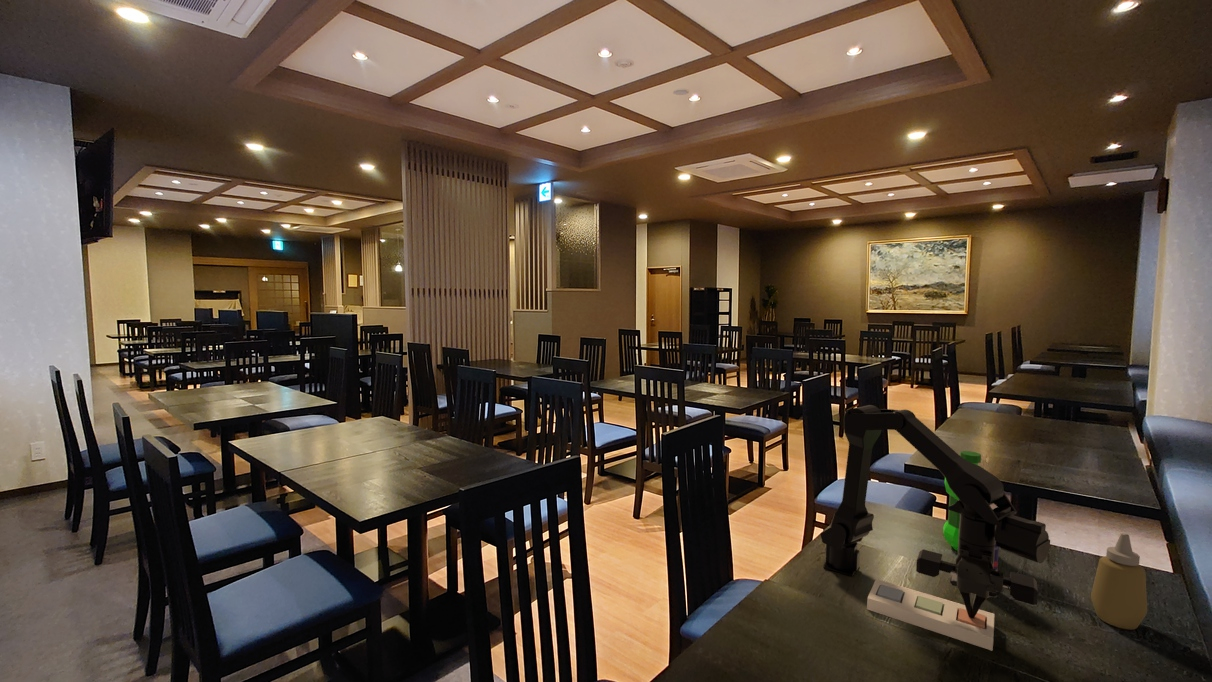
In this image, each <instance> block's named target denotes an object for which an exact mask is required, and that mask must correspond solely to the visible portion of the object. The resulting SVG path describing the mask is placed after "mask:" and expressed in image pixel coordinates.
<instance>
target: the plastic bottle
mask: <svg viewBox="0 0 1212 682" xmlns="http://www.w3.org/2000/svg"><path fill="white" fill-rule="evenodd" d="M981 454H982V453H978V452H975V451H970V450H962V451H960V456H961V457H962V458H964V459H965V460H967V461H969V462H971V463H973V464H976V465H978V466H979V464H980V463H981V461H982V455H981ZM944 488H945V492H946V493H947V494H948V495H949V499H948V501H949V502H948V506H951V505H953V504H955V503H956V502H957V501H958V500H959V499H958V497H957V496H956V495H955V494H954V492H953V491H952V490H951V489H950V487H949V485H948V483H947V481H946V478H945V477H944ZM947 515H948V518H947V520H946V521H945V523H944V525H943V528H942V532H943V537H944V540H945V541H946V543H948V545H949V546H951V547H952V549H954V550H955V551H957V552H958V539H959V524H960V514H959V513H956V512H953V511H950V510H948V514H947Z"/></svg>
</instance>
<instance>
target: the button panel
mask: <svg viewBox="0 0 1212 682" xmlns="http://www.w3.org/2000/svg"><path fill="white" fill-rule="evenodd" d="M881 584H882V585H885V586H888V587H892V588H895V589H898V590H902V591H903V600H902V603H899V602H896V601H893V600H890V599H886V598H883V597H880V596H877V593H878V591H879V588H880V586H881ZM919 596H922V597H925V598H928V599H932V600H935V601H938V602H942V603H943V607H942V616H941V615H938V614H934V613H931V612H928V611H925V610H922V609H918V608H916V604H917V600H918V597H919ZM959 608H962V609H965V610H966V607H965V604H964V603H963V604H962V603H958V602H955V601H951V600H949V599H945V598H942V597H938V596H935V595H932V594H930V593H925V592H922V591H918V590H915V589H912V588H908V587H905V586H902V585H898V584H895V583H892V582H888V581H884V580H881V579H878V578H876V579H875V580H874V582H873V585H872V587H871V589H870V591H869V593H868V596H867V602H866V610H868V611H871V612H874V613H877V614H880V615H883V616H886V617H889V618H892V619H895V620H898V621H901V622H904V623H906V624H910V625H913V626H916V627H920V628H922V629H925V630H929V631H931V632H934V633H937V634H940V635H943V636H947V637H949V638H952V639H955V640H957V641H958V640H959V641H961V642H963V643H964V642H965V643H968V644H970V645H974V646H977V647H979V648H983V649H986V650H989V651H991V652H992V651H993V650H994V648H993V647H994V633H995V632H994V631H995V613H993V612H988V611H986V610H983V609H981V608H979V610H978V612H977V613H978V614H982V615H985V629H982V628H979V627H976V626H973V625H969V624H966V623H963V622H960V621H958V614H959Z"/></svg>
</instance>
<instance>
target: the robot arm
mask: <svg viewBox="0 0 1212 682" xmlns="http://www.w3.org/2000/svg"><path fill="white" fill-rule="evenodd" d="M885 430H886V431H887V430H890V431H891V430H892V431H896V432H897V433H898V434H899V435H900V436H901V437H902V438H903V439H905V441H907V442H908V443H909V444H910V445H911V446H912V447H913V448H914V449H915V450H917V452H919V453H920V454H921V455H922V456H923V457H924V458H925V459H926V460H927V461H929V463H931V464H932V466H934V467H935V468H936V469H937V470H938V471H939V472H940V473H941V474H942V476H943V477H944V479H945V478H946V481H947V483H948V485H949V487H950V489H951V490H952V491H953V492H954V494H955V495H956V496H957V497H958V499H959V500H958V501H957V502H956V503H955V504H953V505H951V506H949V505H948V506H947V511H949V510H950V511H953V512H956V513H959V514H960V524H959V539H958V551H957V554H956V555H957V557H956V559H955V563H953V562H949V561H945V560H943V554H942V553H939V552H935V551H932V550H927V549H925V548H924V549H922V550H920V551H919V552H918V556H917V558H916V566H915V568H916V569H915V572H917V573H918V574H920V575H921V574H922V575H925V576H928V577H931V578H935V577H937V576H939V575H940V572H944V573H947V574H949V575H950V581H949V584H950V586H953V587H955V588H957V590H958V591H959V593H960V595H961V598H962V600H963V605H965V607H966V610H967V613H968V616H969V617H970V618H973V619H974V617H975V615H976V614H977V612H978V610H979V609H981V607H982V605H983V604H984V602H985V601H986V600H987V599H989V598H997V597H998V593H1003V589H1006V590H1009V595H1010V596H1011V597H1012V599H1014V600H1015V601H1018V602H1021V603H1025V604H1028V605H1032V606H1035V605H1036V606H1037V605H1038V599H1039V597H1038V596H1039V590H1038V582H1037V580H1036V579H1035V577H1032V576H1029V575H1026V574H1021V573H1017V572H1014V571H1010V574H1009V577H1007V576H1004V574H1005V573H1004V572H1002V571H998V570H997V571H995V569H994V555H995V541H996V545H997V546H998V547H999V549H1001V550H1002V551H1004V552H1008V553H1010V554H1011V555H1015V556H1018V557H1020V558H1024V559H1026V560H1029V561H1031V562H1035V563H1037V564H1043V563H1044V562H1045V560H1046V559H1047V556H1048V554H1049V551H1050V547H1051V539H1050V536H1049V532H1048V531H1047V529H1046V524H1045V523H1044V522H1040V521H1036V520H1031V519H1027V518H1023V517H1020V516H1017V515H1016V514H1017V513H1018V512H1017V509H1016V508H1015V506H1014V505H1013V504H1012V501H1010V499H1009V497H1008V496H1007V495H1006V493H1005V491H1004V490H1005V489H1004V484H1003V482H1002V481H1001V480H1000V478H998V477H997V476H996V475H994V474H993V473H991V472H990V471H988V470H986V469H985V468H984V467H982V466H980V465H979V464H978V465H976V464H973V463H971V462H969V461H967V460H965V459H964V458H962V457H961V454H958V453H957V452H956V451H955V449H953V448H951V446H949V444H947V443H946V442H945V440H943V439H941V437H939V436H938V435H937V434H936V433H935V432H933V430H931V429H930V428H929V427H928V426H927V425H926V424H925V423H923V421H921V420H920V419H919V418H917V417H916V415H915V413H914V412H913V411H911V410H909V409H907V408H905V409H891V408H888V409H886V408H883V409H882V408H878V407H877V406H876V405H872V404H868V405H863V406H859V407H853V408H850V409H848V410H847V411H846V412H845V413H844V416H843V431H844V434H845V437H846V440H847V442H848V451H847V457H846V464H845V465H846V467H845V476H844V484H843V491H842V497H841V502H840V504H839V505H838V507H837V508H836V510H835V512H834V513H833V518H832V521H831V524H830V527H829V528H827V529H825V530H824V531H822V532H821V533H820V539H821V542H822V543H823V544H825V545H826V546H825V562H824V564H823V565H822V566H823V569H826V570H829V571H833V572H836V573H839V574H842V575H846V576H848V577H853V576H854V575H855V573H856V572H857V571H858V569H859V567H860V555H861V554H860V552H861V551H860V550H859V549H858V543H860V542H862V540H863V539H864V537H866V536H868V535H869V534H870V532H872V531H873V530H874V529H873V522H874V518H875V515H874V513H870V512H869V511H868V509H867V506H866V500H867V492H868V491H867V490H868V483H869V477H870V476H869V475H870V470H871V461H872V452H873V447H874V445H875V444H876V442H877V441H878V438H879V437H880V436H881V434H882V431H885ZM991 505H995V506H996V507H994V508H992V506H991ZM972 594H973V595H974V597H973V601H972Z"/></svg>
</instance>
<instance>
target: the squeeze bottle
mask: <svg viewBox="0 0 1212 682" xmlns="http://www.w3.org/2000/svg"><path fill="white" fill-rule="evenodd" d="M1131 542H1132V541H1131V538H1130V535H1129V534H1128V533H1124V532H1122V533H1120V534H1119V536H1118V539H1117V541H1116V543H1115V546H1108V547H1107V548H1106V554H1105V556H1101V557H1100V558H1099V560H1098V564H1097V569H1096V573H1095V575H1094V576H1095V577H1094V580H1093V581H1094V582H1093V586H1092V589H1091V593H1090V599H1091V602H1092V604H1093V608H1094V610H1095V613H1096V616H1097V618H1099V619H1100V620H1102V622H1104V623H1107V624H1108V625H1111V626H1112V627H1116V628H1118V629H1122V630H1131V631H1132V630H1136V629H1137V628H1138V627H1139V626H1140V624H1141V623H1142V622H1143V620H1144V619H1145V617H1146V616H1147V613H1148V602H1147V601H1148V599H1147V598H1148V597H1147V596H1148V595H1147V577H1146V574H1147V573H1146V570H1145V569H1144V568H1143V567H1142V566H1141V565H1140V560H1141V557H1140V555H1139V554H1138V553H1136V552H1135V551H1133V548H1132V543H1131Z"/></svg>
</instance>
